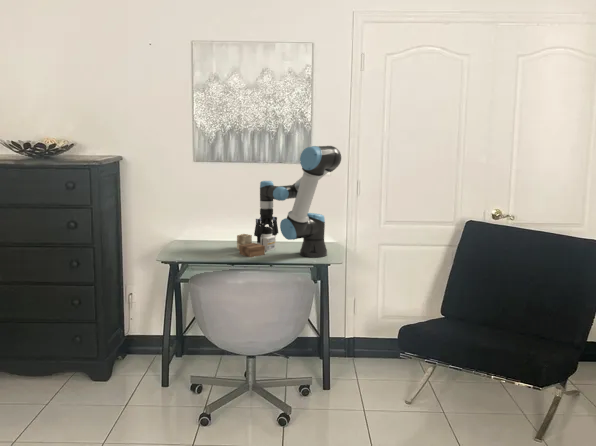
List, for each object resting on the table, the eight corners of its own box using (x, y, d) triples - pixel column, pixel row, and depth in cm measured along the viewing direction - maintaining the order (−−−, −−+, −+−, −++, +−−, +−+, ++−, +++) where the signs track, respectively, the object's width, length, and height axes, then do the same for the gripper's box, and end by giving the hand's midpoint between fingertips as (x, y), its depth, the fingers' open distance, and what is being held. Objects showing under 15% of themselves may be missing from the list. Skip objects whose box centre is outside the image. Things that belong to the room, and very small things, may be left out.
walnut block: (264, 254, 353) (264, 245, 352) (250, 257, 346) (250, 248, 345) (253, 251, 360) (253, 242, 359) (239, 253, 354) (239, 245, 353)
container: (267, 251, 360) (267, 228, 358) (256, 249, 365) (256, 227, 363) (275, 249, 367) (275, 227, 364) (265, 247, 371) (265, 225, 369)
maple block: (251, 248, 368) (251, 235, 366) (245, 250, 363) (245, 236, 361) (243, 247, 371) (243, 233, 369) (237, 249, 366) (236, 235, 365)
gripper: (277, 205, 371) (276, 243, 375) (247, 209, 357) (247, 248, 362) (285, 207, 366) (284, 245, 370) (255, 210, 352) (255, 250, 356)
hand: (266, 247), depth 366 cm, fingers closed on container, 8 cm apart
